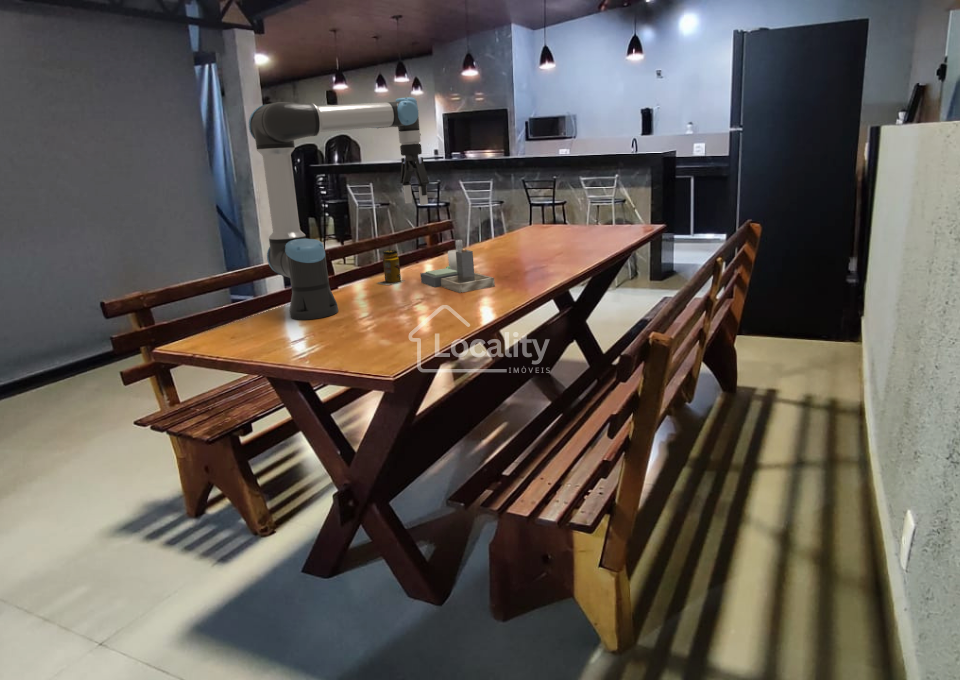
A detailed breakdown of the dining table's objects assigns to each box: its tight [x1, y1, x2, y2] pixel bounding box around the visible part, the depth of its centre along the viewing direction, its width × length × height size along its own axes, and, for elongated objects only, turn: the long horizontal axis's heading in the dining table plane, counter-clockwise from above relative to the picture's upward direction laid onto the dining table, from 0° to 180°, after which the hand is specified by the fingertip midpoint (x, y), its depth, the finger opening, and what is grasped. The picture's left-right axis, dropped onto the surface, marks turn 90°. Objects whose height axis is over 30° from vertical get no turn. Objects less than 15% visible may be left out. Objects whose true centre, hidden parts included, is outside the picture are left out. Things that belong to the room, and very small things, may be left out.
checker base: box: [420, 265, 458, 288], centre depth 248 cm, size 12×12×4 cm
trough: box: [440, 272, 496, 294], centre depth 238 cm, size 14×14×3 cm
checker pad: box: [425, 267, 457, 277], centre depth 248 cm, size 9×9×2 cm
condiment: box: [377, 249, 406, 286], centre depth 254 cm, size 7×8×12 cm
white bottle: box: [447, 239, 464, 271], centre depth 260 cm, size 8×8×13 cm
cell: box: [456, 248, 475, 283], centre depth 236 cm, size 4×4×13 cm
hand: (416, 204), depth 246 cm, fingers open, 13 cm apart
